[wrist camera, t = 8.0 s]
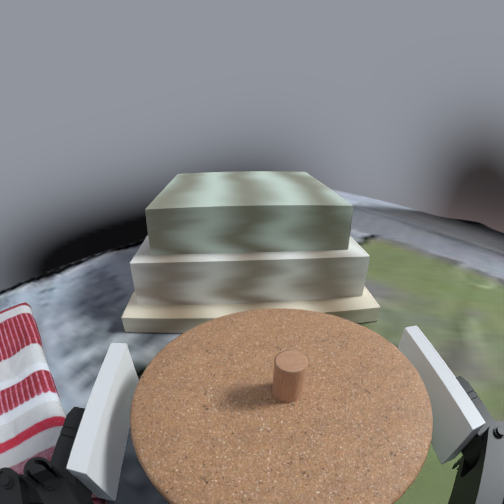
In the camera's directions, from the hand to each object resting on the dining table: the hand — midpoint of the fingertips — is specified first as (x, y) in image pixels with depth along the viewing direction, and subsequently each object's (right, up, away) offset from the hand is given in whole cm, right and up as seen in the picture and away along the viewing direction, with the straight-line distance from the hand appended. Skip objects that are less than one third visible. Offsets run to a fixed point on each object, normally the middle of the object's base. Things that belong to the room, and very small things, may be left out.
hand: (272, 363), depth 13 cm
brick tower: (-2, +3, +22) cm, 23 cm away
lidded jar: (0, -7, 0) cm, 7 cm away
